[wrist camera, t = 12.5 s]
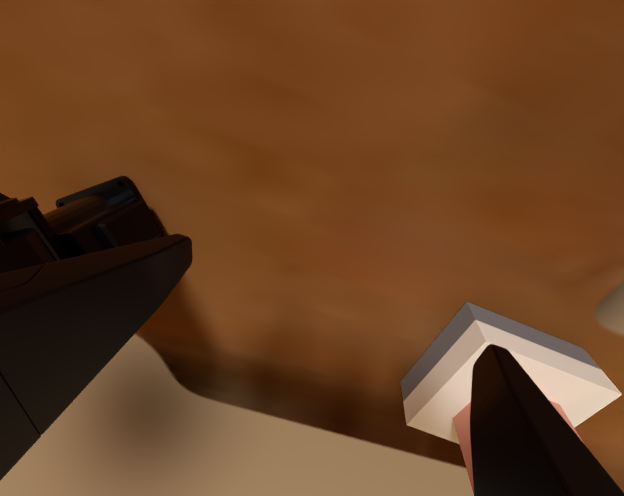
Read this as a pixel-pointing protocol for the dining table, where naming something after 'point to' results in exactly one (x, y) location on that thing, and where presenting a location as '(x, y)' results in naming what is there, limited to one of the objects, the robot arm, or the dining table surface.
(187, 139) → the dining table surface
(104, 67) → the dining table surface
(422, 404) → the base block
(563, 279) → the dining table surface
